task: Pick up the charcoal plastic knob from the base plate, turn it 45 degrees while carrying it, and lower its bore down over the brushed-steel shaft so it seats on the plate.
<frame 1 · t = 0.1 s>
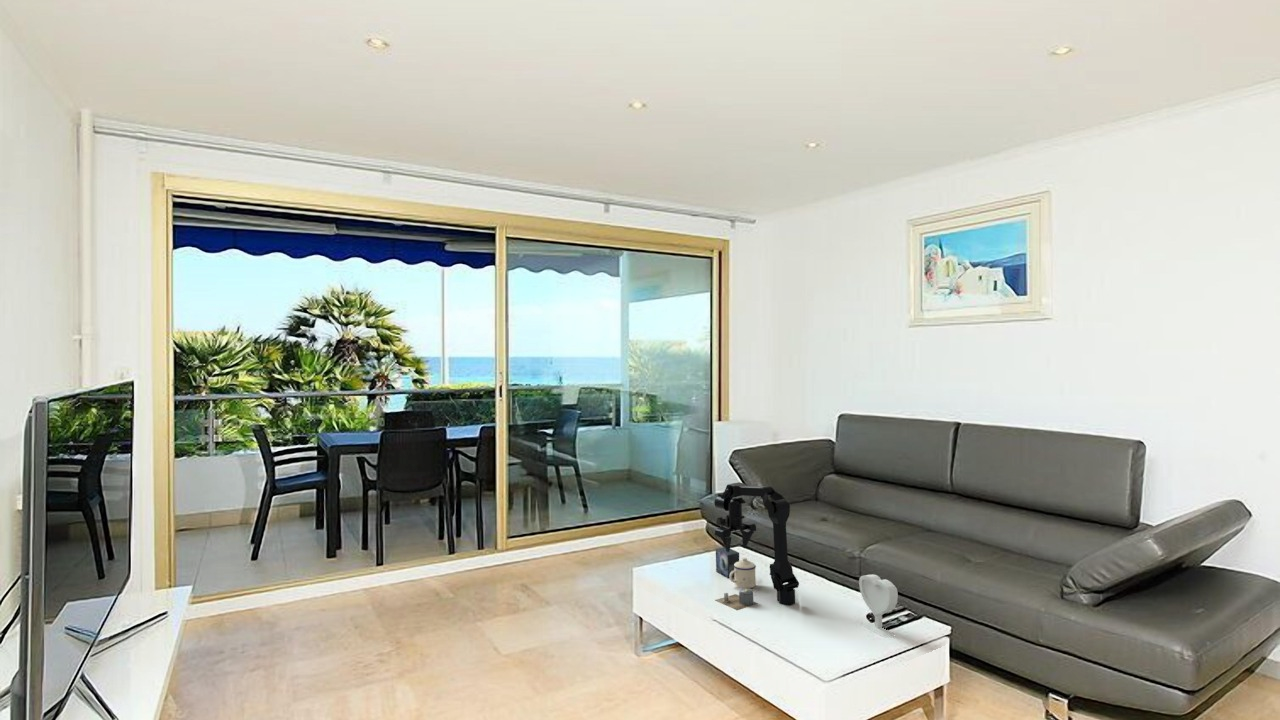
hand: (736, 550, 286), 15 cm above the table, fingers open, 9 cm apart
teacup with lid: (742, 587, 284), on the table
small box: (727, 574, 300), on the table
knob: (746, 602, 264), point 1 cm above the table, touching base plate
heart sculpture: (878, 630, 238), on the table
base plate: (736, 603, 265), on the table
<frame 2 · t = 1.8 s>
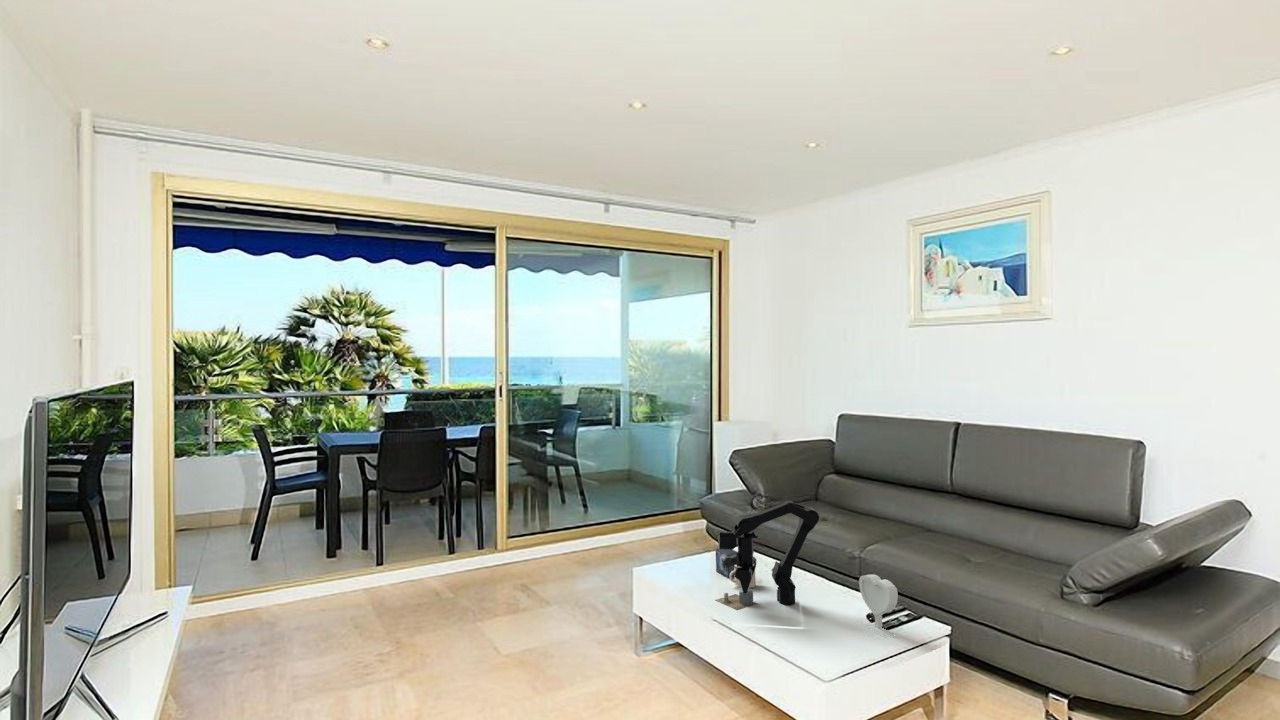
hand: (746, 589, 264), 6 cm above the table, fingers open, 9 cm apart
nothing on the table moved.
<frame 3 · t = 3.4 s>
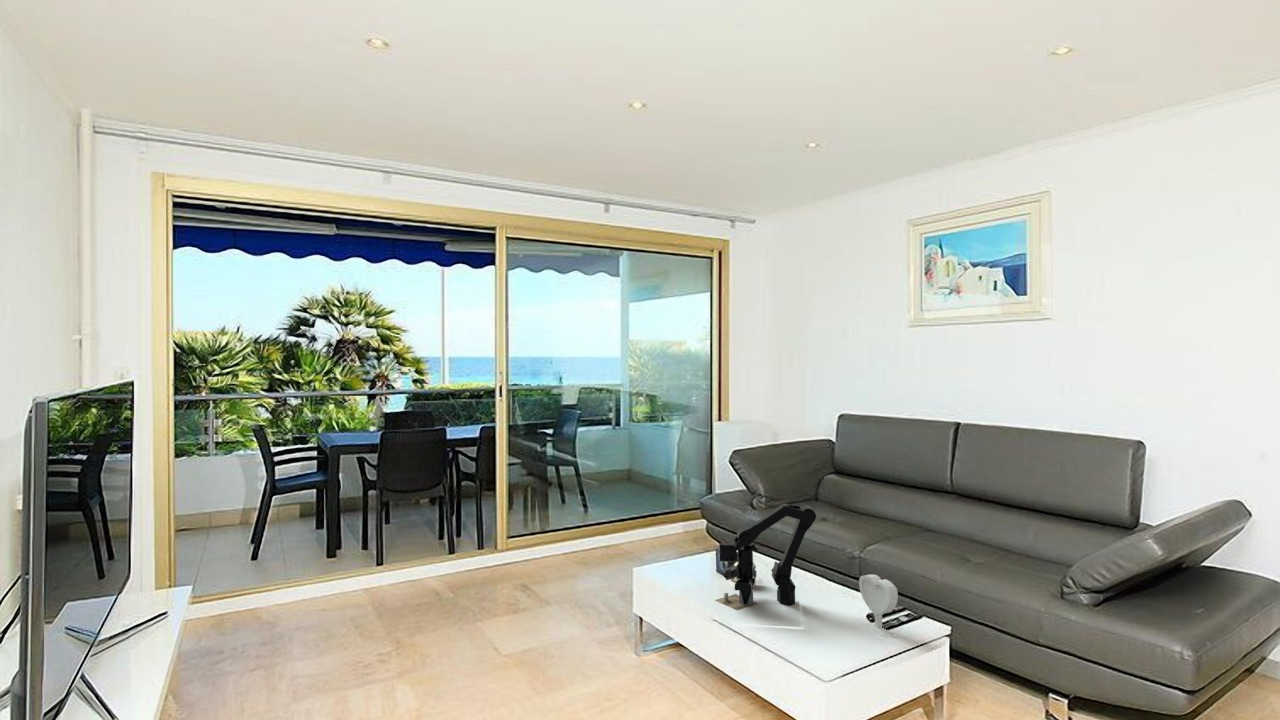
hand: (746, 601, 264), 1 cm above the table, fingers closed on knob, 5 cm apart
knob: (746, 602, 264), point 1 cm above the table, touching gripper, base plate
everything else where it was.
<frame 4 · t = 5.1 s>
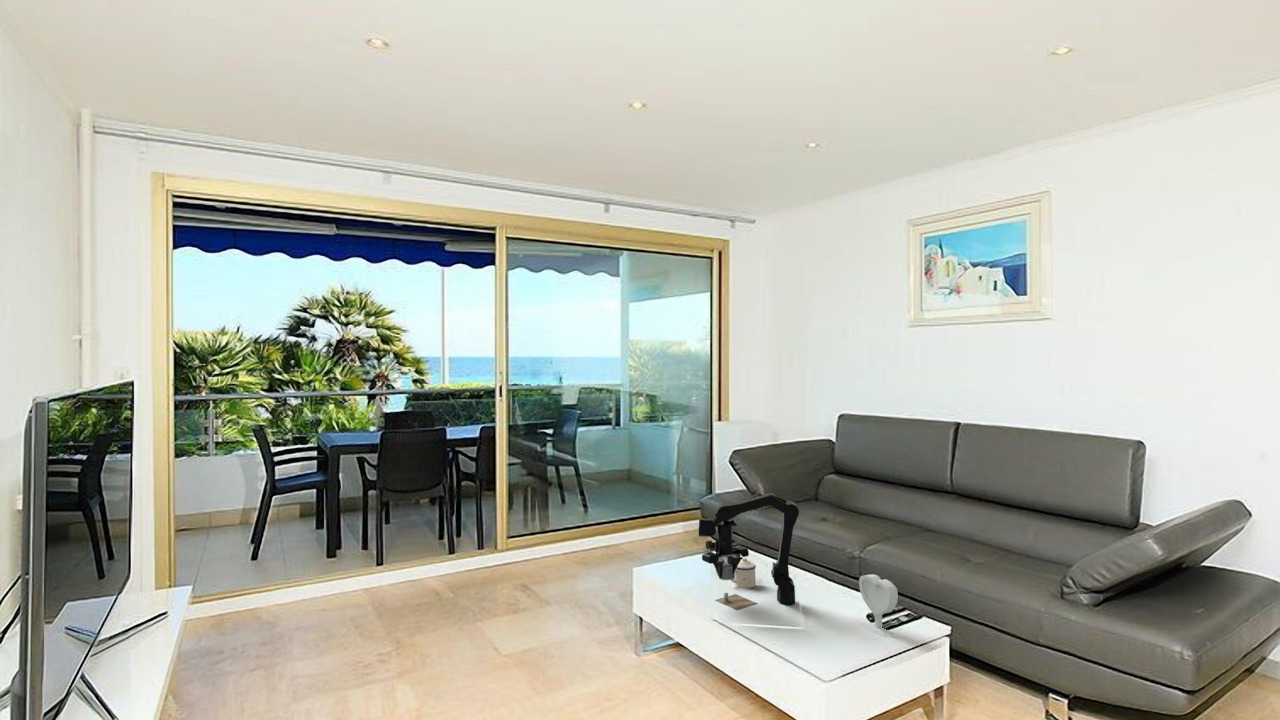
hand: (726, 576, 266), 10 cm above the table, fingers closed on knob, 5 cm apart
knob: (725, 577, 266), point 10 cm above the table, touching gripper
everything else where it was.
when the fingers open (2 cm above the table, at t = 7.1 s): knob drops 1 cm, resting on base plate.
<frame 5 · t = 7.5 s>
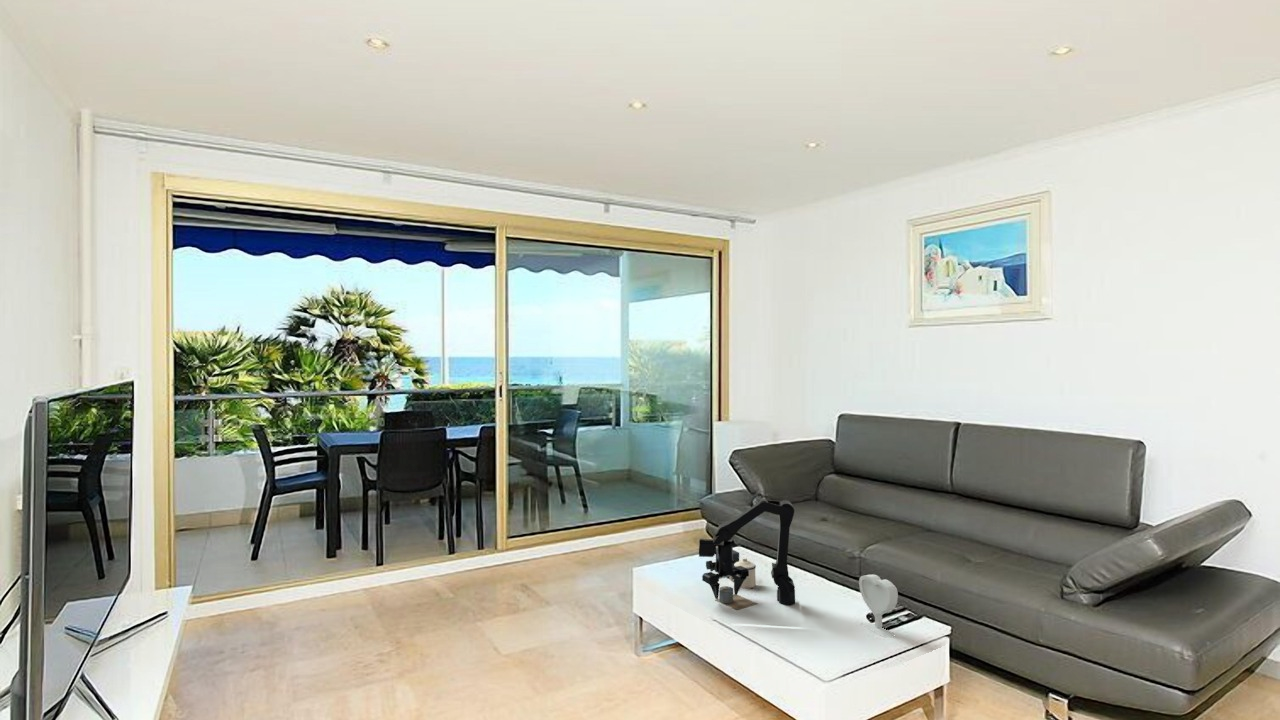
hand: (726, 596, 266), 2 cm above the table, fingers open, 9 cm apart
knob: (726, 600, 266), point 1 cm above the table, touching base plate
everything else where it was.
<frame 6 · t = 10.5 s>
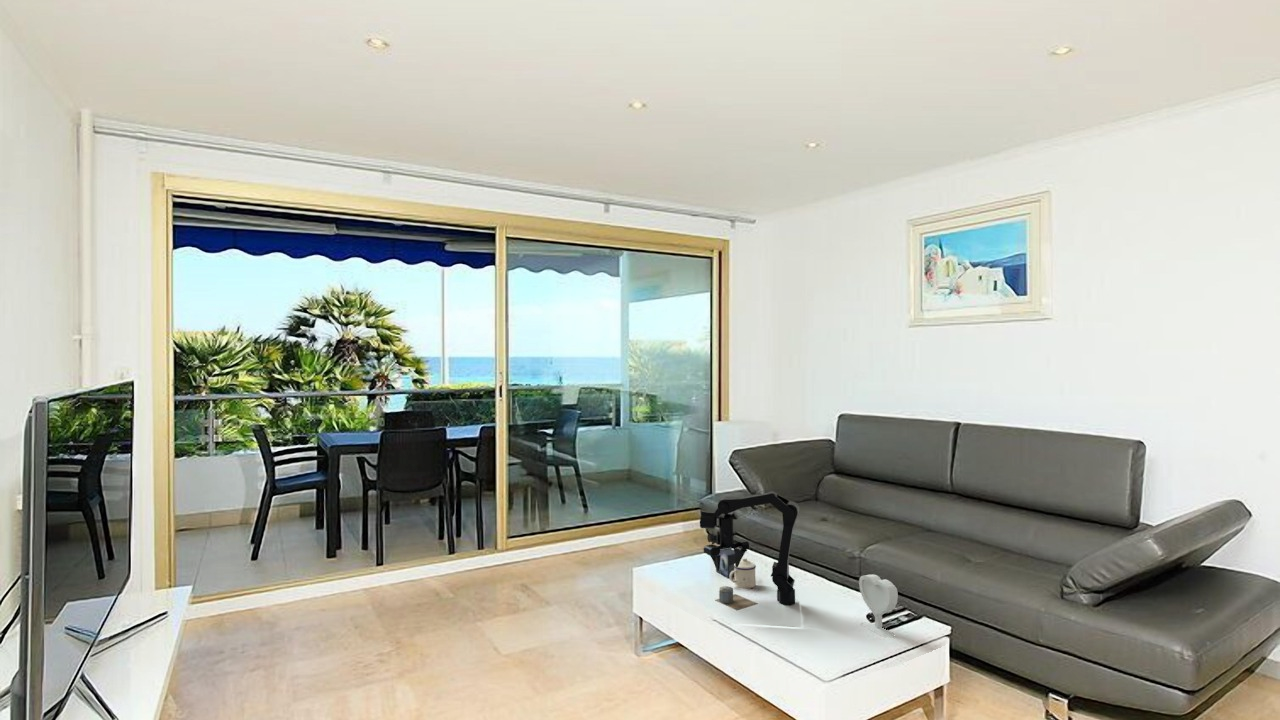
hand: (727, 568, 270), 12 cm above the table, fingers open, 9 cm apart
nothing on the table moved.
at the end: knob 0.0 cm from the target spot on the base plate, point 0.9 cm above the base plate's base; knob tilted 1°; the gripper is holding nothing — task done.
